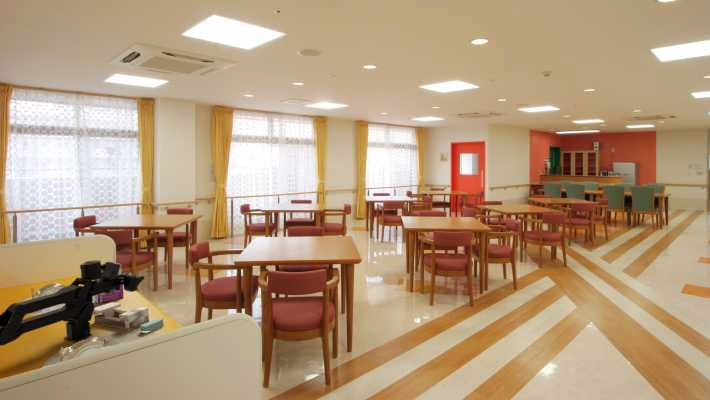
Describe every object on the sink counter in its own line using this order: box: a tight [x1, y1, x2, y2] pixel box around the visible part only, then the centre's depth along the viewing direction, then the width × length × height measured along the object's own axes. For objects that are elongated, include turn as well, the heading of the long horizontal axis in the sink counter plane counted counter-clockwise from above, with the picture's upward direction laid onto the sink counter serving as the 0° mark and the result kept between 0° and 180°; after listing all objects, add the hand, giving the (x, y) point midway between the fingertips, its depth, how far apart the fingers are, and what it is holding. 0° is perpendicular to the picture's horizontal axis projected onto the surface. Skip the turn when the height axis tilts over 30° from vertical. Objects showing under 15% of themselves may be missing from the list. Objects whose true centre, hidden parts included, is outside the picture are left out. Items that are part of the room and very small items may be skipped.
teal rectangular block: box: [139, 318, 165, 332], centre depth 161 cm, size 8×3×3 cm, turn 156°
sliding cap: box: [92, 301, 122, 317], centre depth 171 cm, size 9×6×4 cm, turn 156°
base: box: [93, 306, 150, 331], centre depth 168 cm, size 9×20×6 cm, turn 66°
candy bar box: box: [94, 264, 124, 305], centre depth 197 cm, size 11×5×16 cm, turn 141°
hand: (136, 276), depth 176 cm, fingers open, 9 cm apart
